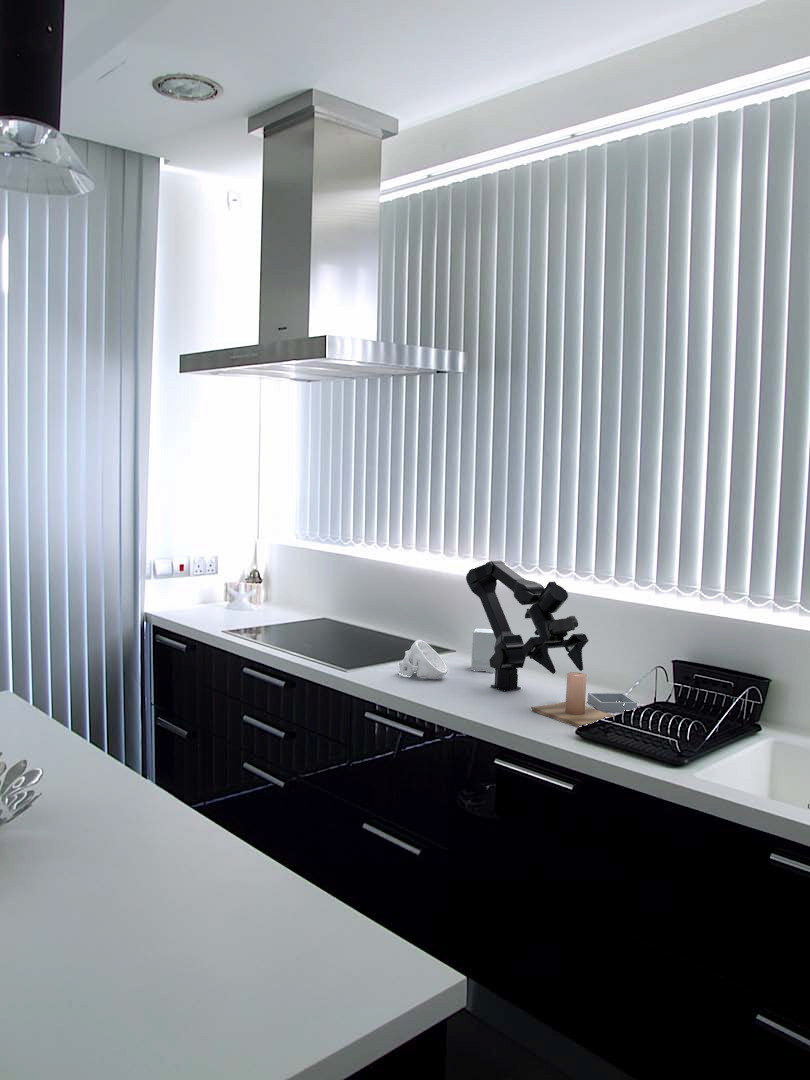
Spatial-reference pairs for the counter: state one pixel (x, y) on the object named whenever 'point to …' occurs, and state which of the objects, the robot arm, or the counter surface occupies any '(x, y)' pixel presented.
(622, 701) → the grey box
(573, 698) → the pink tall rounded piece
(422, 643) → the skull bowl
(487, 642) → the supplement box
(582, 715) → the walnut board
